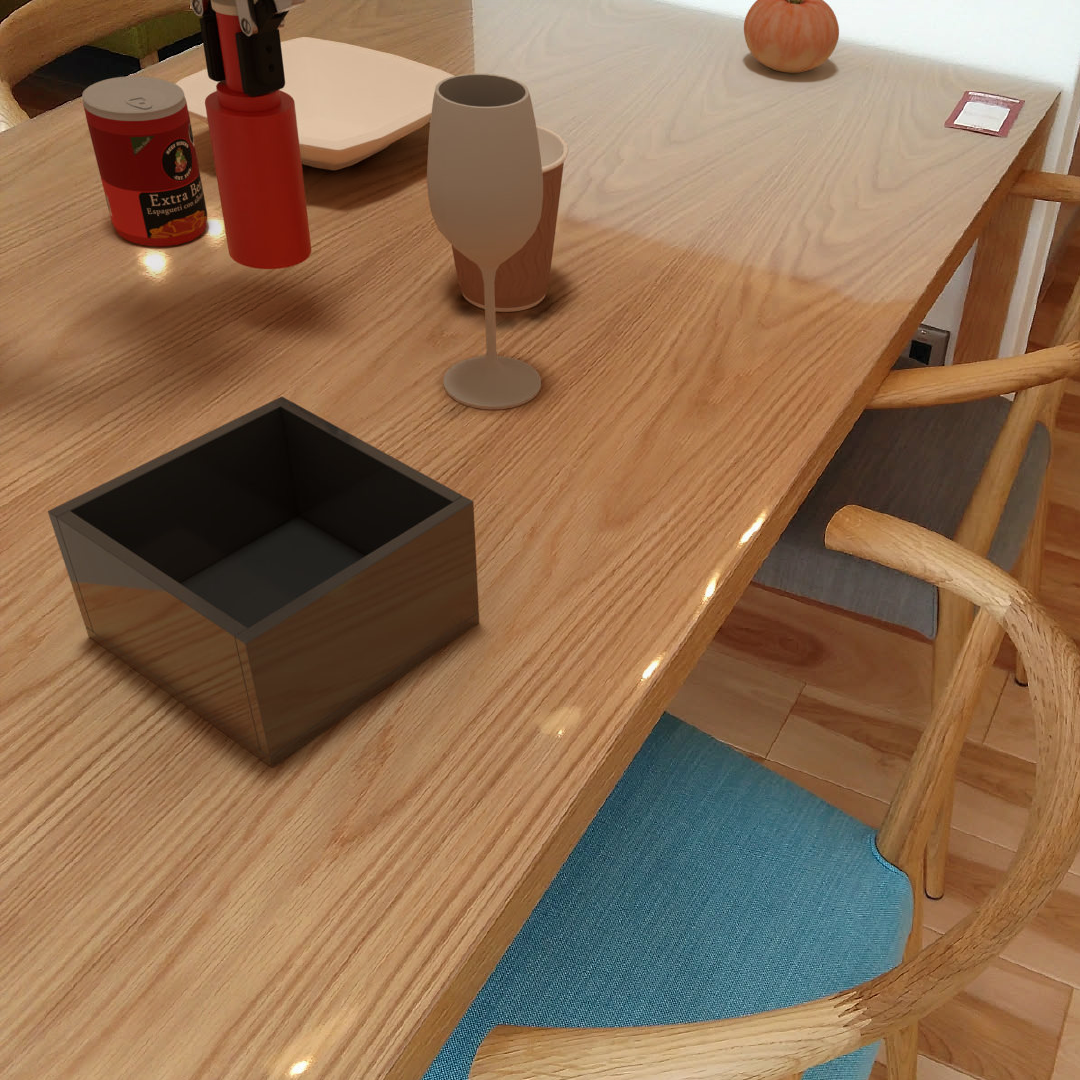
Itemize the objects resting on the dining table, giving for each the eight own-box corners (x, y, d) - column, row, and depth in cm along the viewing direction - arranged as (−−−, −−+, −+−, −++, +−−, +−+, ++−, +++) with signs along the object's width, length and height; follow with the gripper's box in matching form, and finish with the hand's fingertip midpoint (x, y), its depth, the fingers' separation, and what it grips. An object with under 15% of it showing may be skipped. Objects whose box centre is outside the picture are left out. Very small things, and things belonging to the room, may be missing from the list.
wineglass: (565, 384, 98) (567, 93, 83) (491, 423, 93) (480, 123, 79) (493, 346, 101) (483, 60, 86) (419, 382, 96) (395, 86, 82)
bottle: (211, 250, 98) (168, -5, 86) (275, 226, 102) (242, -21, 90) (265, 277, 96) (228, 19, 84) (328, 252, 100) (301, 1, 88)
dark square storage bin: (88, 636, 74) (46, 510, 68) (301, 515, 84) (281, 395, 78) (272, 768, 68) (245, 643, 62) (479, 622, 78) (473, 501, 72)
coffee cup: (587, 281, 110) (590, 137, 101) (531, 335, 102) (529, 184, 94) (478, 252, 112) (473, 108, 104) (416, 302, 105) (404, 153, 96)
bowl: (494, 140, 129) (492, 80, 125) (345, 224, 114) (338, 158, 110) (312, 87, 136) (305, 28, 132) (147, 159, 120) (134, 95, 116)
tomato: (741, 46, 155) (748, -28, 149) (831, 55, 155) (842, -18, 149) (739, 79, 147) (747, 2, 141) (835, 88, 147) (846, 11, 142)
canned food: (160, 257, 107) (130, 120, 99) (92, 229, 110) (58, 93, 102) (230, 226, 112) (206, 93, 104) (163, 199, 114) (135, 68, 107)
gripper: (63, -259, 79) (126, 63, 91) (243, -205, 72) (284, 132, 85) (168, -266, 83) (214, 41, 96) (346, -216, 77) (370, 105, 90)
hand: (247, 81), depth 90 cm, fingers closed on bottle, 2 cm apart
